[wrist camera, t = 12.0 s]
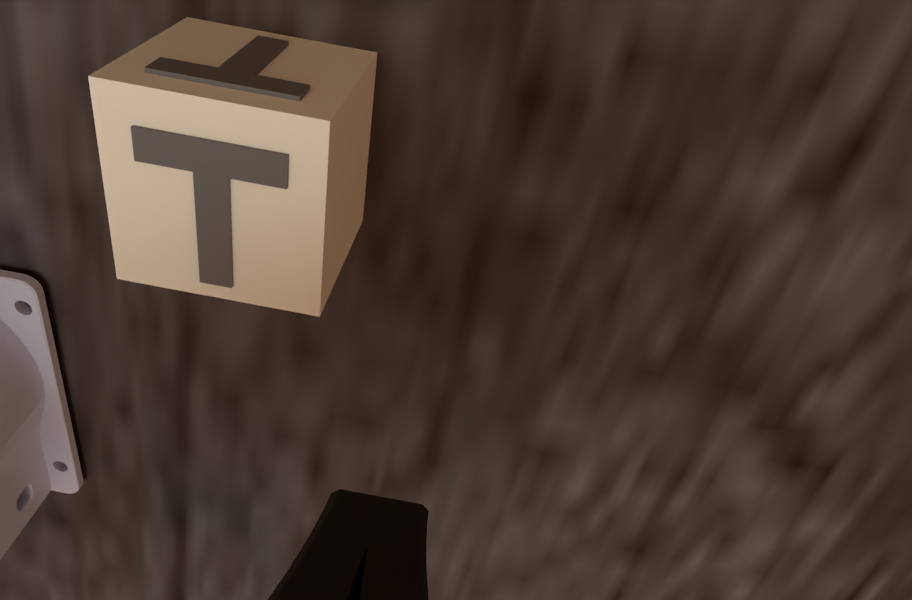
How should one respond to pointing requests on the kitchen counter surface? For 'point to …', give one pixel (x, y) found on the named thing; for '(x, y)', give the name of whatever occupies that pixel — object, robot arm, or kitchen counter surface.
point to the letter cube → (235, 161)
